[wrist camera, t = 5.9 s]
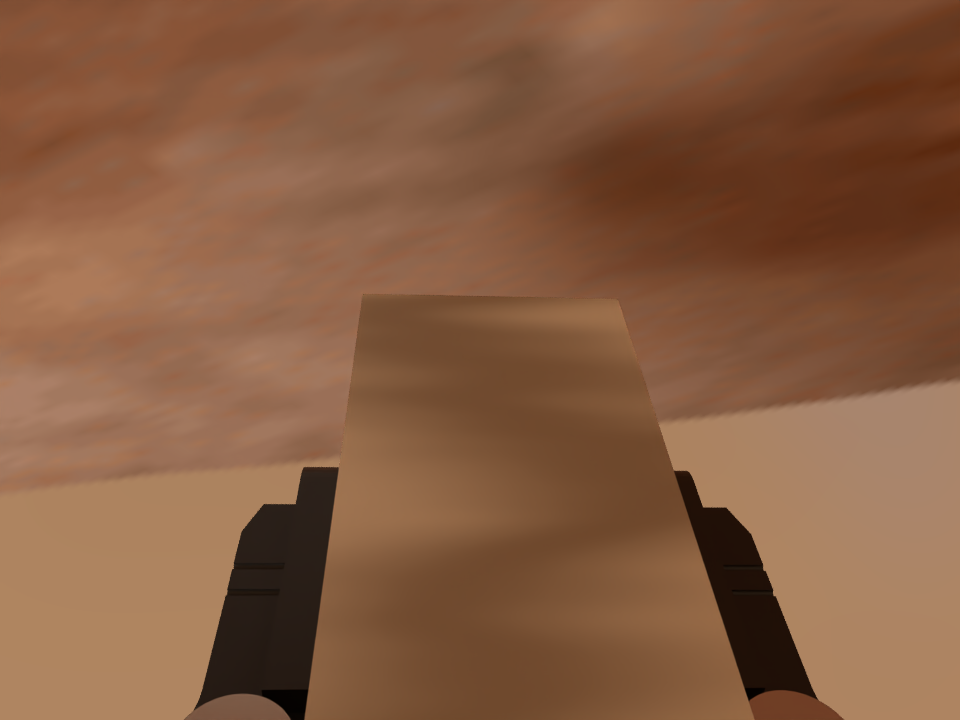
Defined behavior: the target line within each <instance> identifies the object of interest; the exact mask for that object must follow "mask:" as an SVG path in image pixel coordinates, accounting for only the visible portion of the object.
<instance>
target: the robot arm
mask: <svg viewBox="0 0 960 720" xmlns="http://www.w3.org/2000/svg"><path fill="white" fill-rule="evenodd" d="M338 471H339V467H337V468H336V467H304V468H303V470H302V474H301V479H300V484H299V490H298V495H297V500H296V504H290V505H289V504H264V505H263V506H262V507H261V508H260V510H259V511H258V512H257V513H256V515H255V516H254V517H253V518H252V519H251V521H250V522H249V523H248V524H247V526H246V527H245V528H244V529H243V531H242V533H241V536H240V540H239V544H238V548H237V552H236V556H235V561H234V569H232V572H231V577H230V581H229V585H228V589H227V590H228V592H227V596H226V597H225V601H224V605H223V609H222V613H221V617H220V621H219V625H218V629H217V633H216V637H215V641H214V645H213V649H212V653H211V657H210V661H209V665H208V669H207V673H206V677H205V681H204V685H203V689H202V692H201V695H200V698H199V701H198V703H197V705H196V707H195V709H194V711H193V712H192V713H191V714H189V715H188V716H187V717H186V718H185V719H184V720H305V712H306V705H307V698H308V690H309V683H310V676H311V669H312V661H313V654H314V647H315V639H316V632H317V625H318V617H319V610H320V603H321V595H322V588H323V581H324V574H325V566H326V559H327V552H328V544H329V537H330V530H331V522H332V515H333V508H334V500H335V493H336V486H337V479H338ZM674 473H675V476H676V479H677V483H678V486H679V489H680V492H681V495H682V498H683V501H684V504H685V507H686V510H687V513H688V516H689V519H690V523H691V526H692V529H693V532H694V535H695V538H696V541H697V544H698V547H699V550H700V553H701V556H702V559H703V563H704V566H705V569H706V572H707V575H708V578H709V581H710V584H711V587H712V590H713V593H714V596H715V599H716V603H717V606H718V609H719V612H720V615H721V618H722V621H723V624H724V627H725V630H726V633H727V636H728V639H729V643H730V646H731V649H732V652H733V655H734V658H735V661H736V664H737V667H738V670H739V673H740V676H741V679H742V683H743V686H744V689H745V692H746V695H747V698H748V701H749V704H750V707H751V710H752V713H753V716H754V719H755V720H844V719H843V718H842V717H840V716H839V715H838V714H837V713H836V712H835V711H834V710H832V709H831V708H830V707H829V706H827V705H825V704H824V703H822V702H820V701H819V700H818V699H817V697H816V695H815V693H814V691H813V689H812V687H811V684H810V682H809V679H808V677H807V674H806V672H805V669H804V666H803V664H802V662H801V659H800V657H799V654H798V652H797V649H796V647H795V644H794V641H793V639H792V636H791V634H790V631H789V629H788V626H787V624H786V621H785V619H784V616H783V614H782V611H781V608H780V606H779V603H778V601H777V598H776V597H775V596H773V588H772V586H771V583H770V581H769V578H768V576H767V573H766V571H763V563H762V561H761V558H760V556H759V553H758V551H757V548H756V545H755V543H754V541H753V538H752V535H751V534H750V533H749V532H748V531H747V529H746V528H745V527H744V526H743V525H742V524H741V523H740V522H739V521H738V520H737V519H736V518H735V517H734V516H733V515H732V513H730V511H729V510H728V509H727V508H703V506H702V503H701V500H700V498H699V495H698V492H697V489H696V486H695V483H694V480H693V478H692V476H691V474H690V473H689V472H688V471H674Z"/></svg>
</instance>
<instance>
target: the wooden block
mask: <svg viewBox="0 0 960 720" xmlns="http://www.w3.org/2000/svg"><path fill="white" fill-rule="evenodd" d="M305 720H755V719H754V716H753V713H752V710H751V707H750V704H749V701H748V698H747V695H746V692H745V689H744V686H743V683H742V679H741V676H740V673H739V670H738V667H737V664H736V661H735V658H734V655H733V652H732V649H731V646H730V643H729V639H728V636H727V633H726V630H725V627H724V624H723V621H722V618H721V615H720V612H719V609H718V606H717V603H716V599H715V596H714V593H713V590H712V587H711V584H710V581H709V578H708V575H707V572H706V569H705V566H704V563H703V559H702V556H701V553H700V550H699V547H698V544H697V541H696V538H695V535H694V532H693V529H692V526H691V523H690V519H689V516H688V513H687V510H686V507H685V504H684V501H683V498H682V495H681V492H680V489H679V486H678V483H677V479H676V476H675V473H674V470H673V467H672V464H671V461H670V458H669V455H668V452H667V449H666V446H665V443H664V440H663V436H662V433H661V430H660V427H659V424H658V421H657V418H656V415H655V412H654V409H653V406H652V403H651V399H650V396H649V393H648V390H647V387H646V384H645V381H644V378H643V375H642V372H641V369H640V366H639V363H638V359H637V356H636V353H635V350H634V347H633V344H632V341H631V338H630V335H629V332H628V329H627V326H626V323H625V319H624V316H623V313H622V310H621V307H620V304H619V301H618V299H598V298H546V297H495V296H443V295H392V294H363V296H362V303H361V311H360V318H359V325H358V332H357V340H356V347H355V354H354V362H353V369H352V376H351V384H350V391H349V398H348V406H347V413H346V420H345V427H344V435H343V442H342V449H341V457H340V464H339V471H338V479H337V486H336V493H335V500H334V508H333V515H332V522H331V530H330V537H329V544H328V552H327V559H326V566H325V574H324V581H323V588H322V595H321V603H320V610H319V617H318V625H317V632H316V639H315V647H314V654H313V661H312V669H311V676H310V683H309V690H308V698H307V705H306V712H305Z"/></svg>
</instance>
